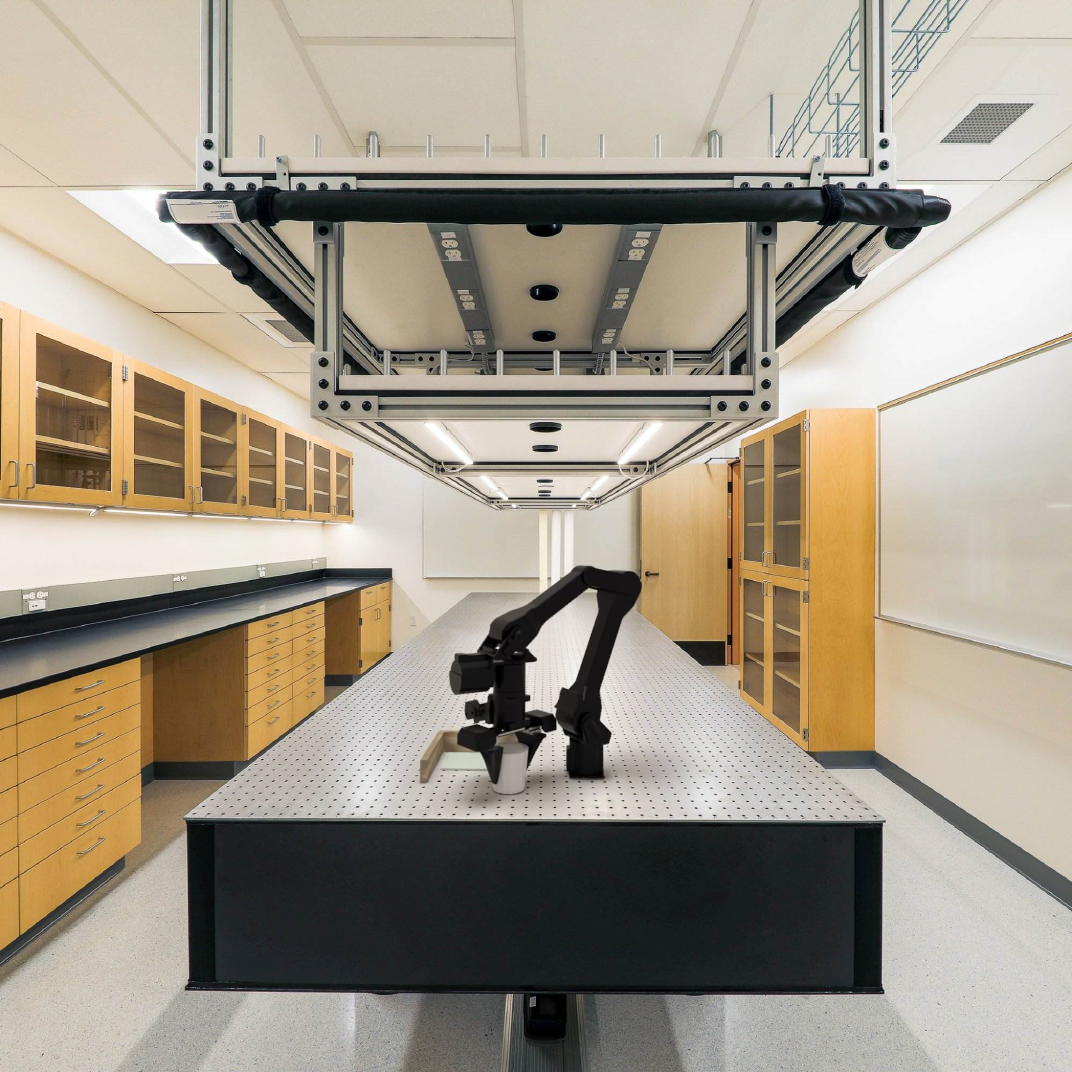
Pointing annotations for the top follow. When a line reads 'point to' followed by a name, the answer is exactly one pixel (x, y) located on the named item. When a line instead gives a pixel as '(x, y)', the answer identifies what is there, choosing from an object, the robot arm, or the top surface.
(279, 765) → the top surface
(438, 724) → the top surface
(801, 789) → the top surface
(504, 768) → the white cup
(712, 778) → the top surface
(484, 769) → the pad
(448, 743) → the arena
